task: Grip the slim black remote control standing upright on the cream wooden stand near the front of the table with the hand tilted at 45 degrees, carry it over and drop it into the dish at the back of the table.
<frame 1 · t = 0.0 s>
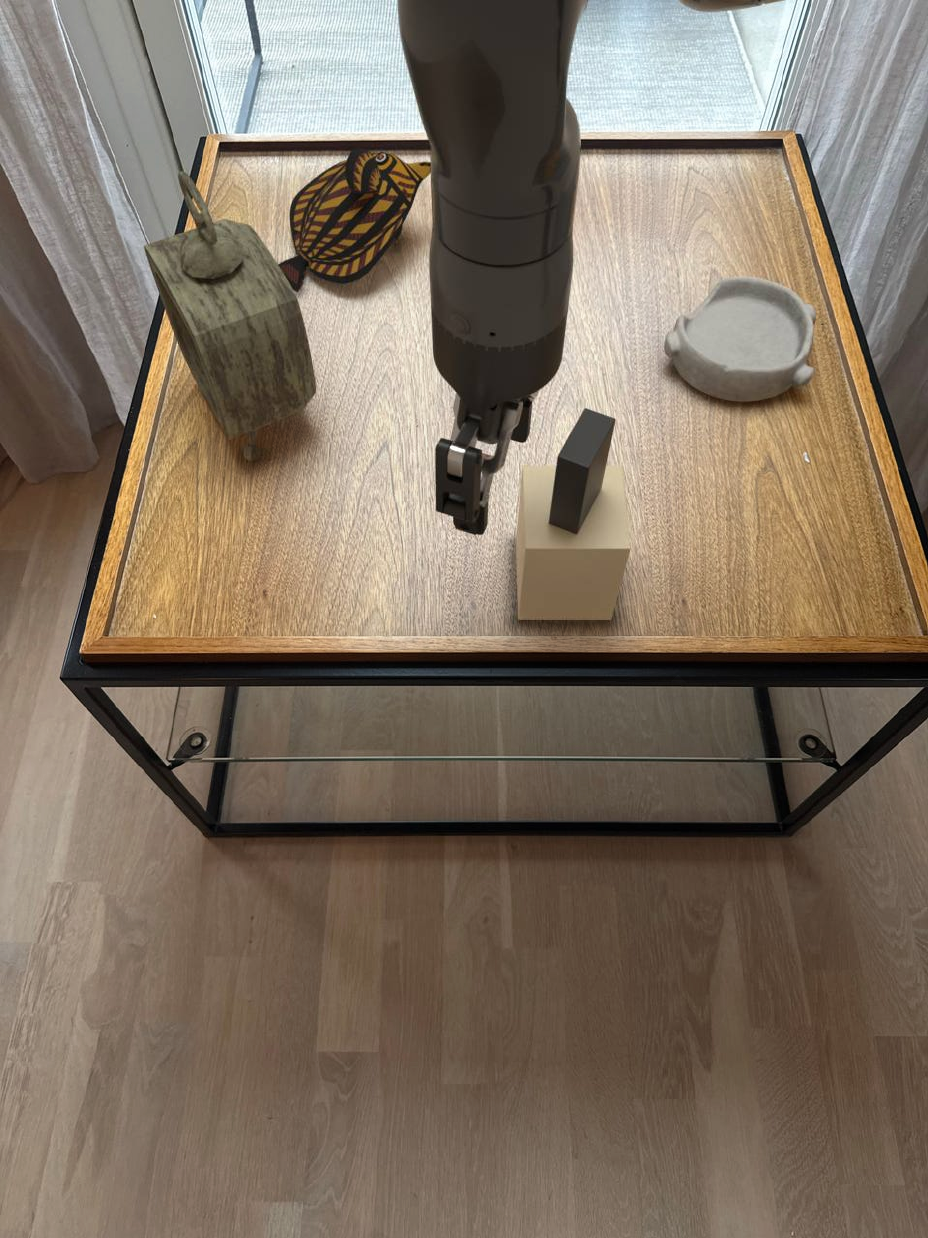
hand: (492, 480, 64), 18 cm above the table, tool pointing down, fingers open, 8 cm apart
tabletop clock: (259, 412, 91), on the table
dish: (738, 360, 94), on the table
clementine: (510, 228, 105), on the table
stand: (562, 580, 81), on the table
decorative fish sculpture: (352, 251, 103), on the table
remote: (575, 505, 71), point 11 cm above the table, touching stand
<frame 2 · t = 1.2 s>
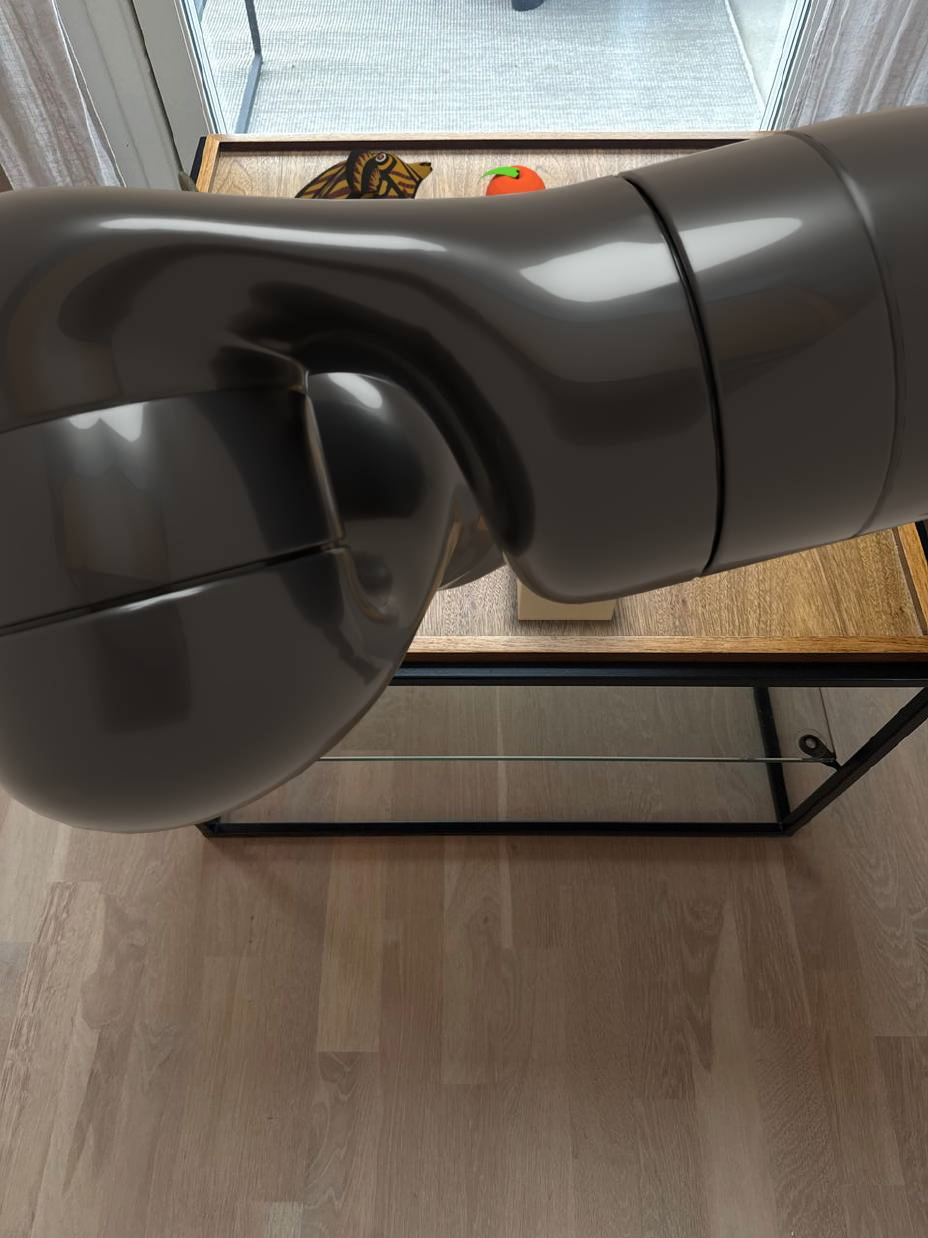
hand: (553, 455, 46), 32 cm above the table, tool tilted 45°, fingers open, 8 cm apart
nothing on the table moved.
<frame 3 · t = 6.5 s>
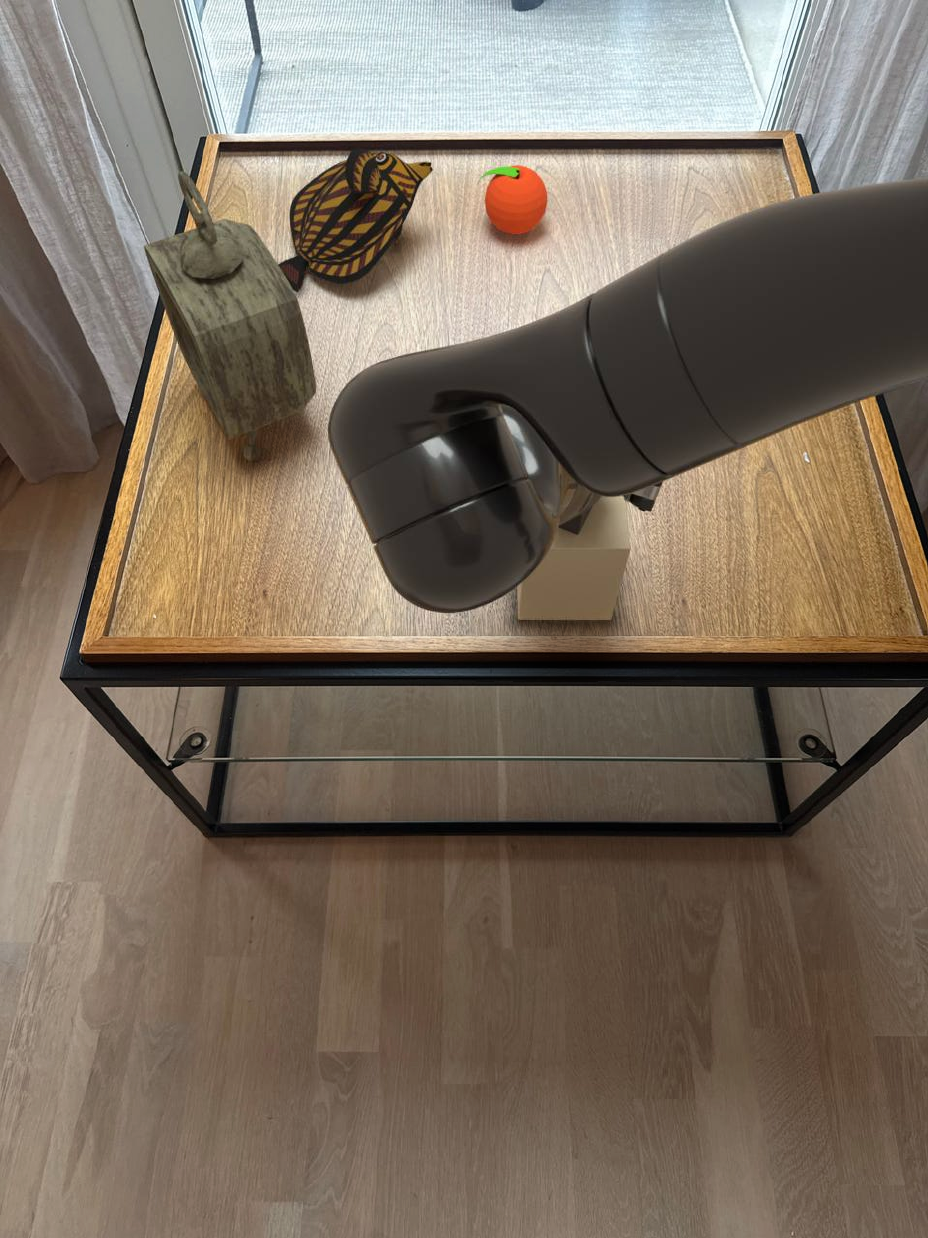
hand: (590, 453, 69), 15 cm above the table, tool tilted 45°, fingers closed on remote, 2 cm apart
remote: (575, 506, 71), point 11 cm above the table, touching gripper
everything else where it was.
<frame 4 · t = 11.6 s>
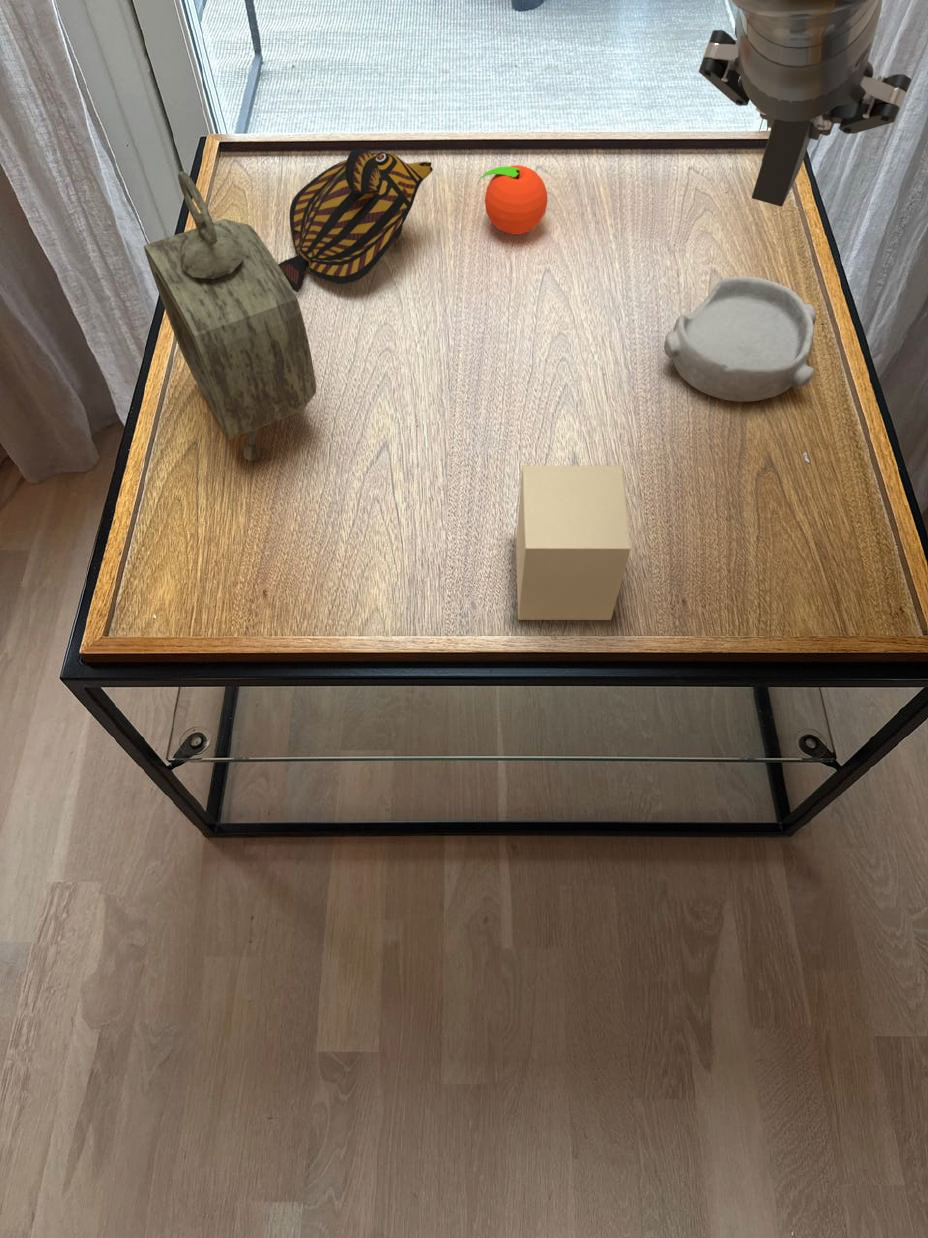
hand: (797, 118, 68), 28 cm above the table, tool tilted 45°, fingers closed on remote, 2 cm apart
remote: (775, 184, 71), point 24 cm above the table, touching gripper
everything else where it was.
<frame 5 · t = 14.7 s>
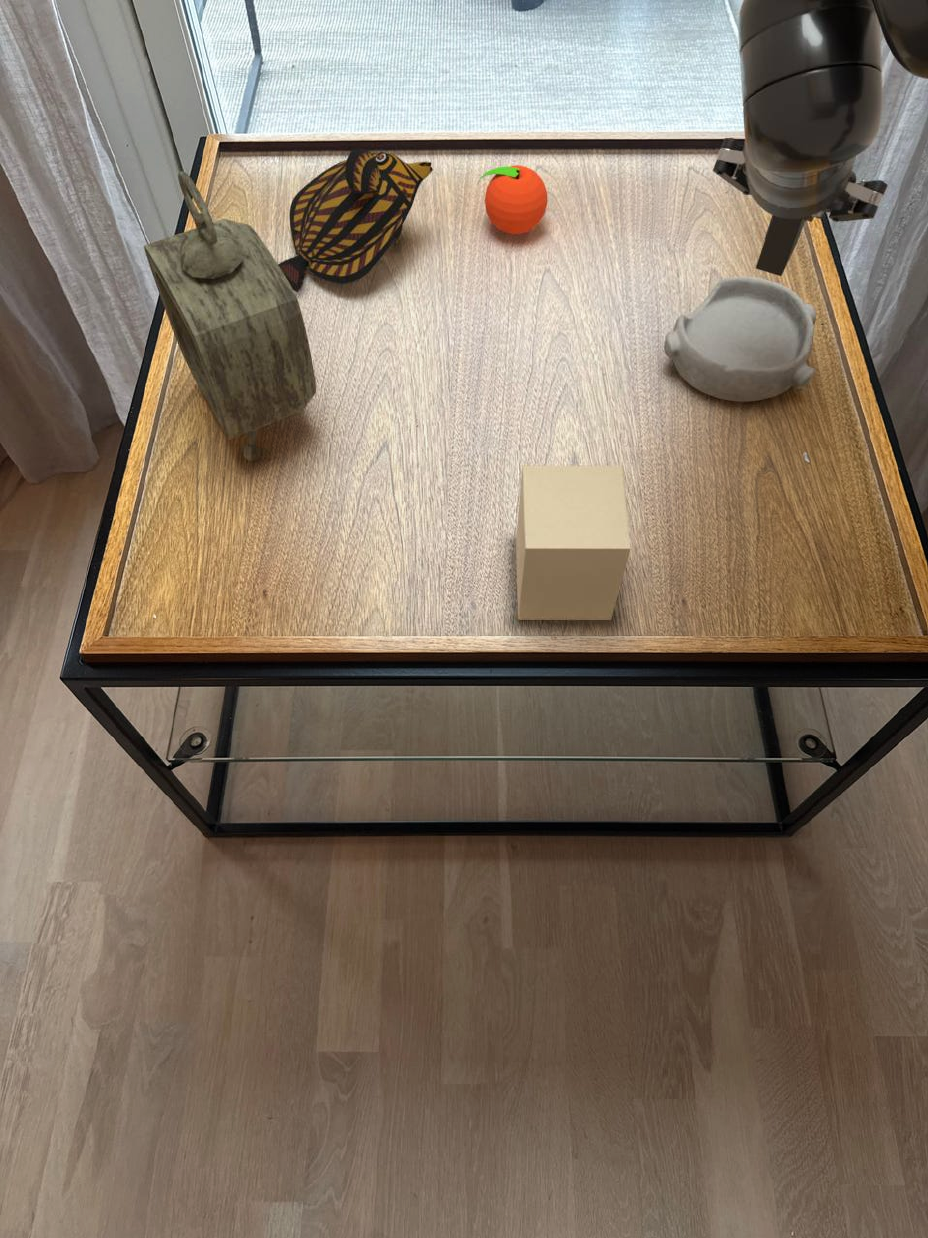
hand: (795, 203, 80), 17 cm above the table, tool tilted 45°, fingers closed on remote, 2 cm apart
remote: (776, 255, 83), point 13 cm above the table, touching gripper
everything else where it was.
when the fingers open (9 cm above the table, at t = 16.7 s): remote stays where it is, resting on dish.
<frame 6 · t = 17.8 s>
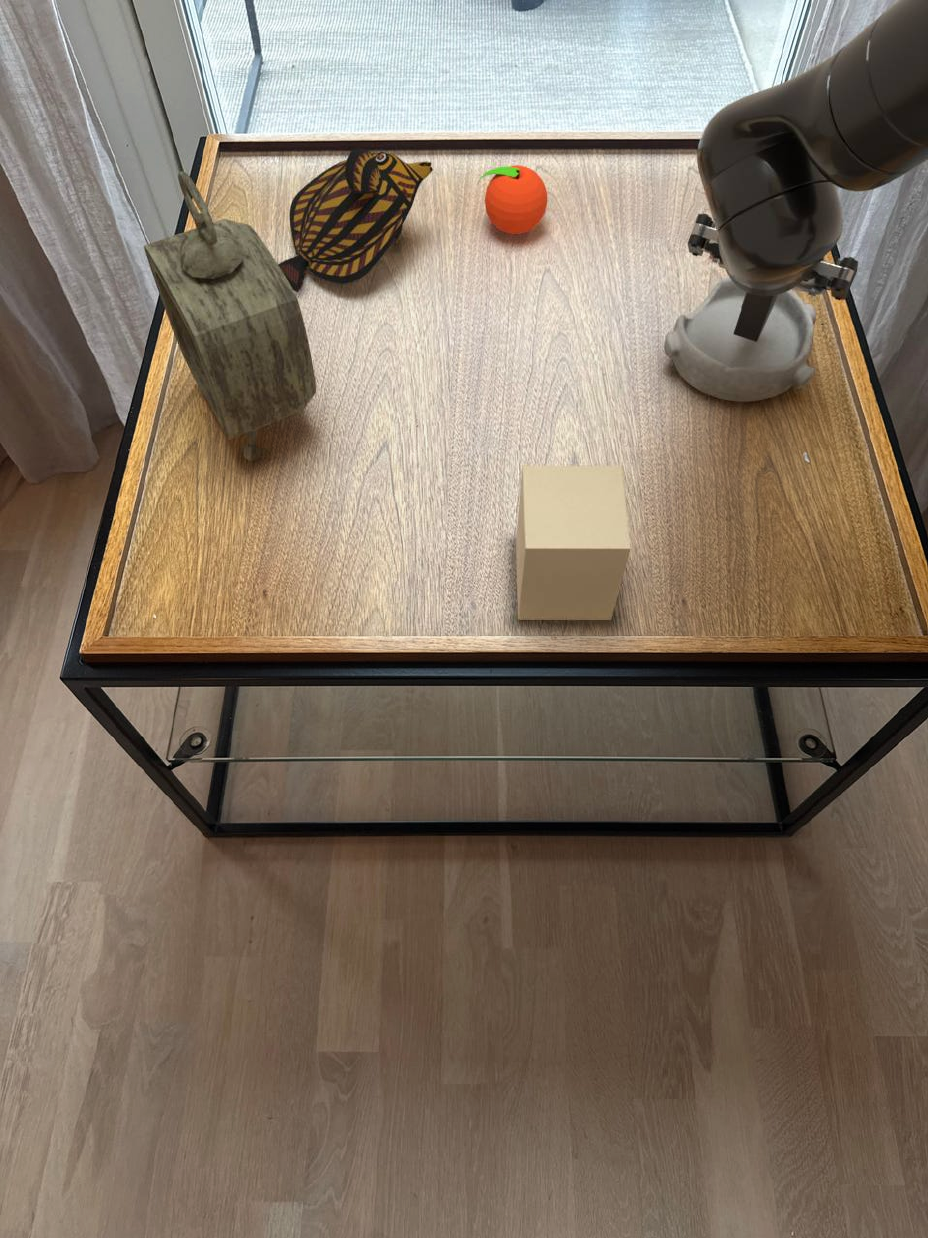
hand: (771, 270, 86), 10 cm above the table, tool tilted 45°, fingers open, 8 cm apart
dish: (738, 360, 94), on the table, touching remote
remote: (752, 321, 90), point 5 cm above the table, touching dish
everything else where it was.
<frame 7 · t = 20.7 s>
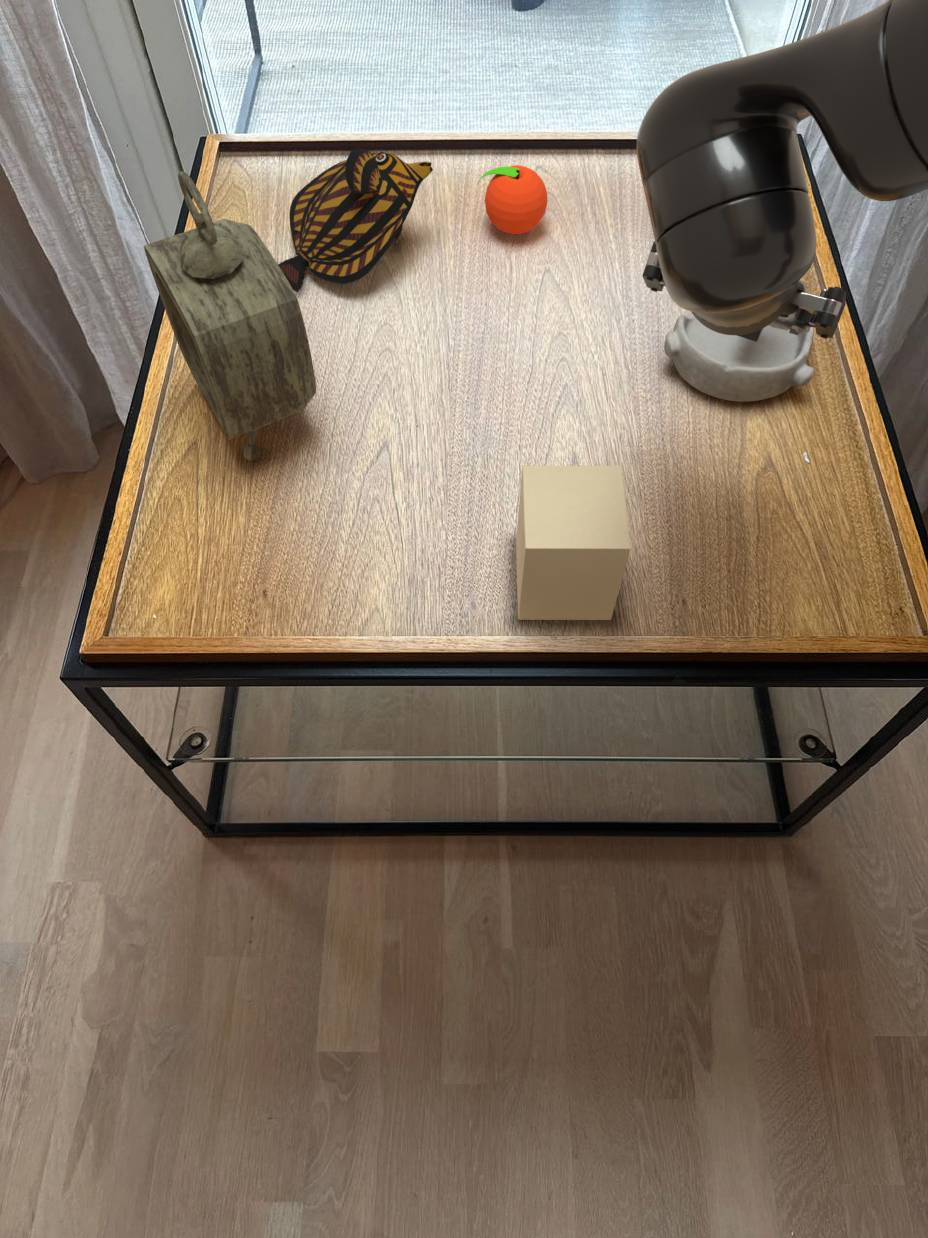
hand: (745, 306, 73), 17 cm above the table, tool tilted 45°, fingers open, 8 cm apart
nothing on the table moved.
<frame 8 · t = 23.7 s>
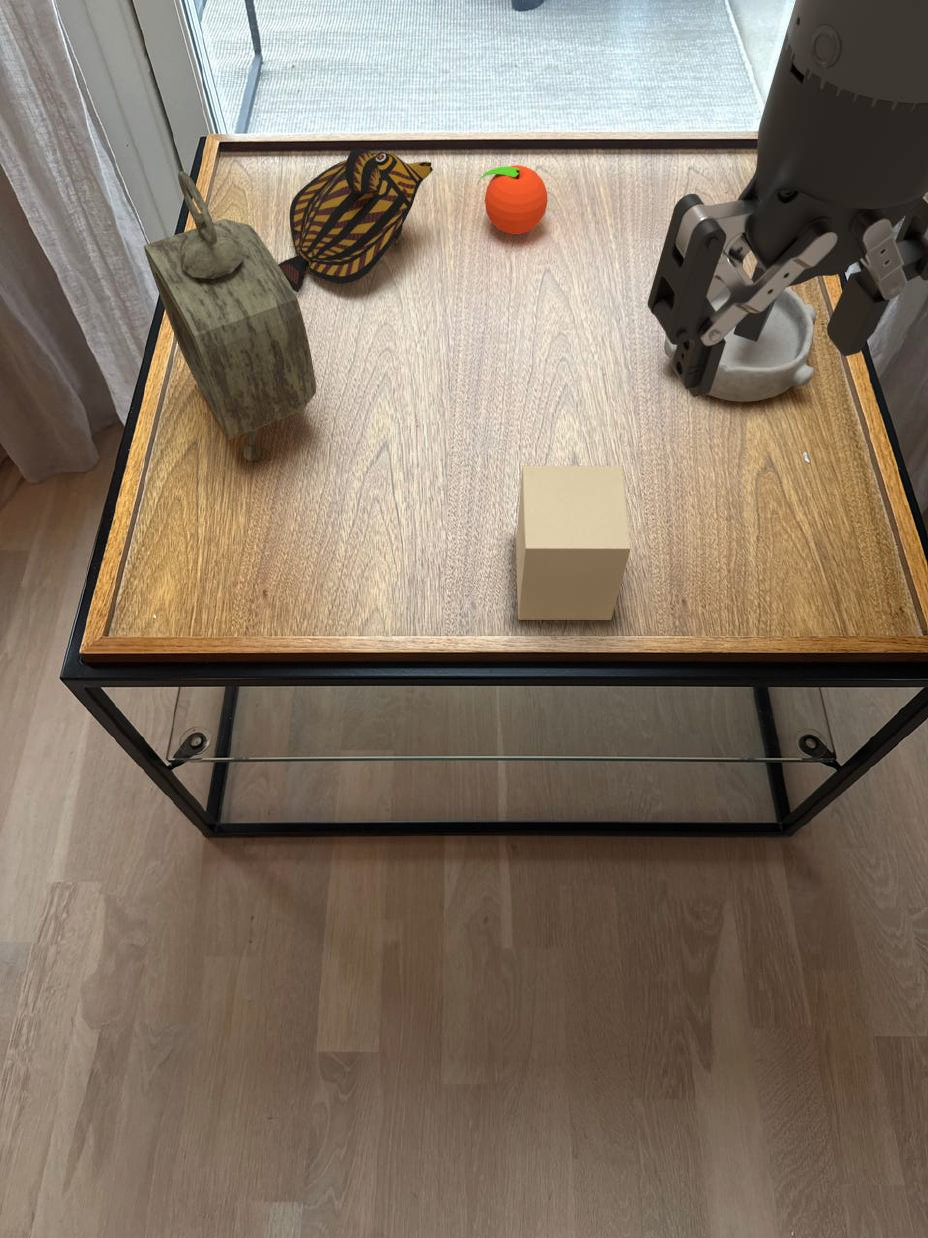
hand: (767, 363, 47), 34 cm above the table, tool pointing down, fingers open, 8 cm apart
nothing on the table moved.
at the end: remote inside the target area in the dish (0.1 cm from its centre), point 5.2 cm above the dish's base; the gripper is holding nothing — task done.
